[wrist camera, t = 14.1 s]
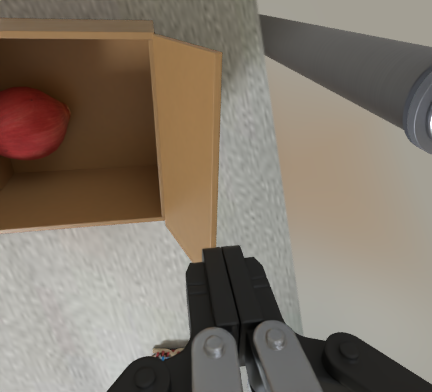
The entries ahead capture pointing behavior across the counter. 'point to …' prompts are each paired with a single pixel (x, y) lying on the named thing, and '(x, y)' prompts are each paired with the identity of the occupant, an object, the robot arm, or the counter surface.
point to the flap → (189, 139)
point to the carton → (85, 124)
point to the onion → (31, 123)
